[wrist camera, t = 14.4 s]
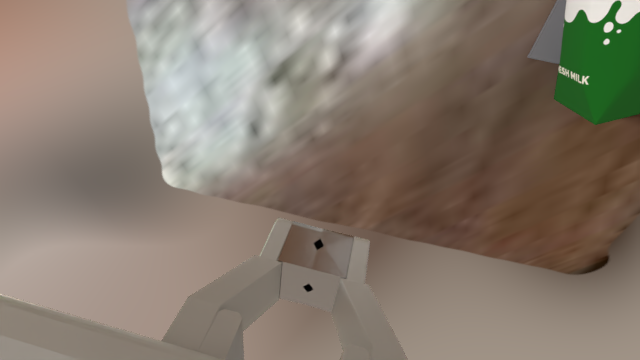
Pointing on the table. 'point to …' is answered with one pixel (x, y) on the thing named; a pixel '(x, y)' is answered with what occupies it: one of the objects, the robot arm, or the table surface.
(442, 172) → the table surface
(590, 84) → the soya milk
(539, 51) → the mat
